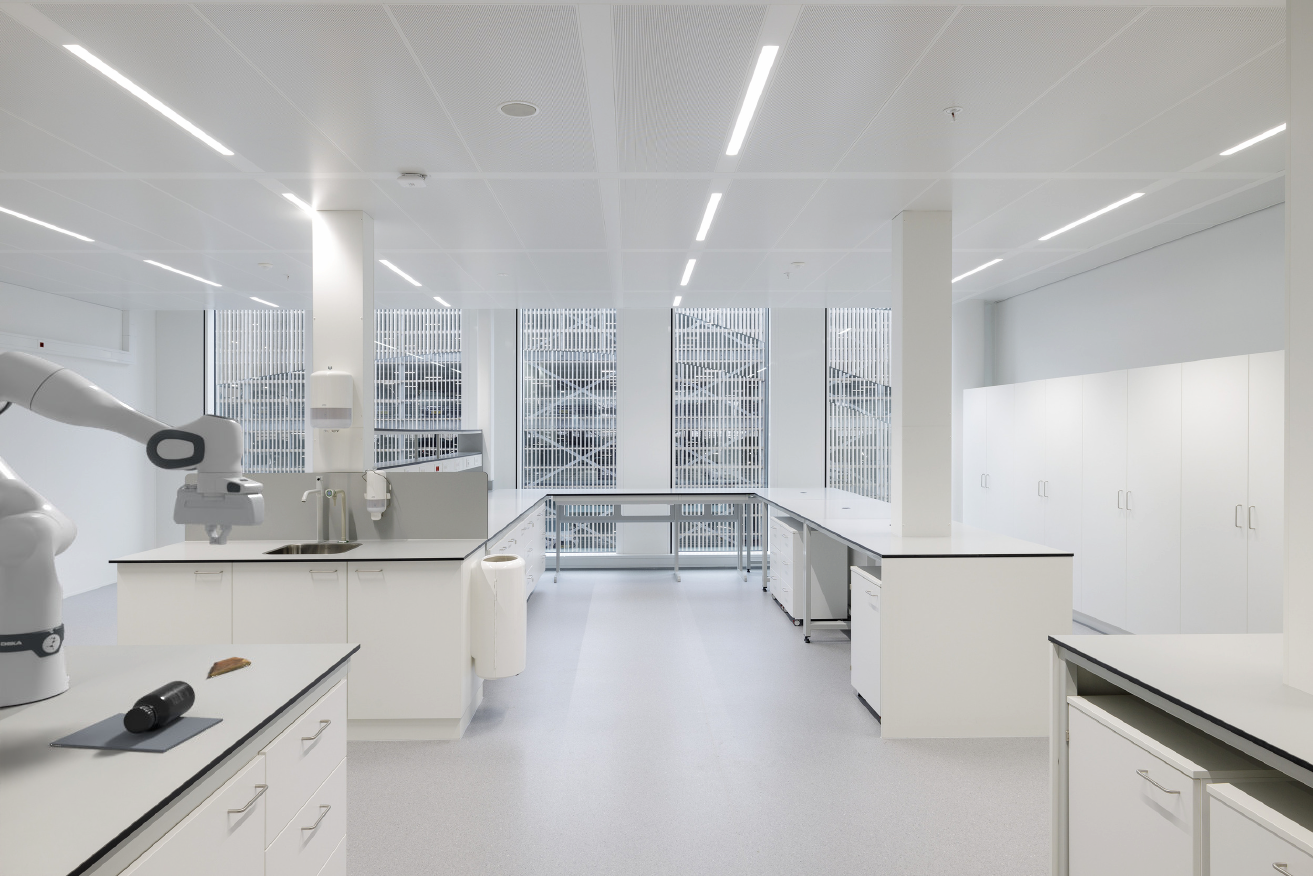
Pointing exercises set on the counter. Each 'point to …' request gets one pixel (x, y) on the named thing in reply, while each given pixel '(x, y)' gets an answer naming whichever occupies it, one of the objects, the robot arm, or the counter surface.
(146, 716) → the supplement bottle
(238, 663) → the shard
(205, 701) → the counter surface
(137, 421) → the robot arm
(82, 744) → the mat
